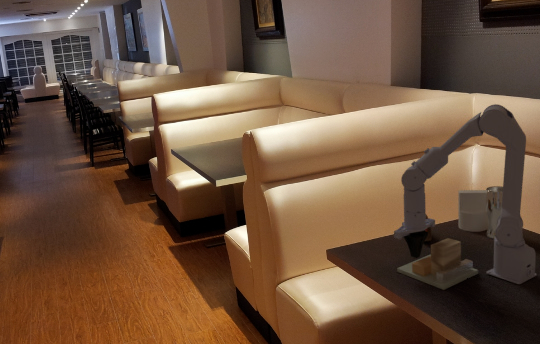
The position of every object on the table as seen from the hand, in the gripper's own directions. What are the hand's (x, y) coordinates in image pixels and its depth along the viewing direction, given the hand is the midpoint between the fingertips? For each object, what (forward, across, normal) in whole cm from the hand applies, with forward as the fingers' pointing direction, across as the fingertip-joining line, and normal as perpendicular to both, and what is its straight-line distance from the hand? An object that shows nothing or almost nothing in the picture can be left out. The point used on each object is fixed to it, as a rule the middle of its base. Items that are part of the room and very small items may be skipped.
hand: (415, 256), depth 153 cm
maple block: (+2, 0, +10) cm, 10 cm away
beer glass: (+3, -34, +3) cm, 34 cm away
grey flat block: (+2, 0, +8) cm, 8 cm away
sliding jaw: (+1, 0, +6) cm, 6 cm away
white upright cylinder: (+3, -36, -7) cm, 37 cm away
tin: (+3, -18, -13) cm, 23 cm away
